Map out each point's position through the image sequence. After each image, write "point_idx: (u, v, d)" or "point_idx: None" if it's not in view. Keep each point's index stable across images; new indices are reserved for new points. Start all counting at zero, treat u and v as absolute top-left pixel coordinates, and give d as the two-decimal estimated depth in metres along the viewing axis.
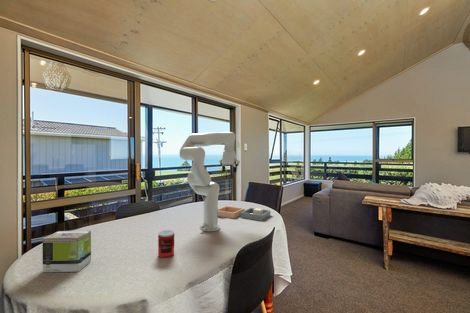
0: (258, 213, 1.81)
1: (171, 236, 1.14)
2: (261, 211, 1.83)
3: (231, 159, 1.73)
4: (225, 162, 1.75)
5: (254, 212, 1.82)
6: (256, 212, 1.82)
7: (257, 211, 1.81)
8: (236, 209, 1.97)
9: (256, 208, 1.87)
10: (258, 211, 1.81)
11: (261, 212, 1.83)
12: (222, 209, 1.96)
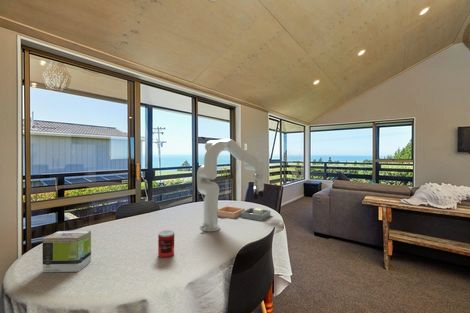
0: (258, 213, 1.81)
1: (171, 236, 1.14)
2: (261, 211, 1.83)
3: (263, 185, 1.86)
4: (261, 189, 1.81)
5: (254, 212, 1.82)
6: (256, 212, 1.82)
7: (257, 211, 1.81)
8: (236, 209, 1.97)
9: (256, 208, 1.87)
10: (258, 211, 1.81)
11: (261, 212, 1.83)
12: (222, 209, 1.96)
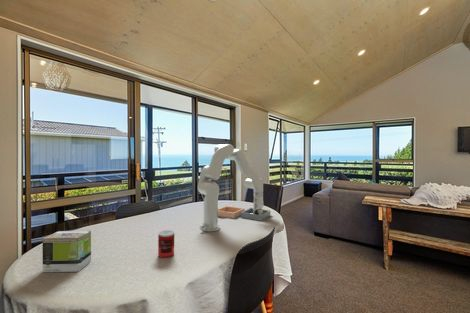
0: (258, 213, 1.81)
1: (171, 236, 1.14)
2: (261, 211, 1.83)
3: (262, 202, 1.86)
4: (260, 207, 1.81)
5: None
6: None
7: None
8: (236, 209, 1.97)
9: None
10: (258, 211, 1.81)
11: (261, 212, 1.83)
12: (222, 209, 1.96)
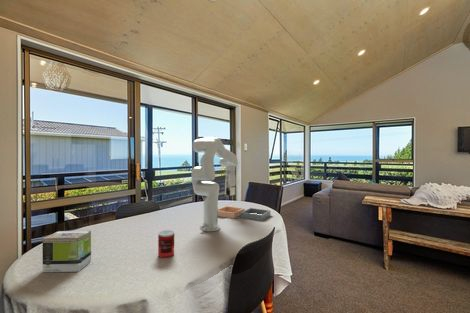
0: (230, 190, 1.87)
1: (171, 236, 1.14)
2: (233, 189, 1.89)
3: (235, 181, 1.92)
4: (232, 184, 1.88)
5: None
6: None
7: (229, 189, 1.88)
8: (236, 209, 1.97)
9: None
10: (230, 189, 1.87)
11: (233, 190, 1.89)
12: (222, 209, 1.96)
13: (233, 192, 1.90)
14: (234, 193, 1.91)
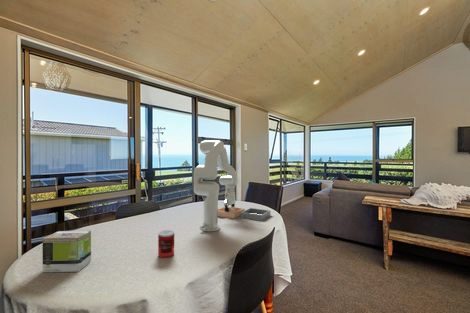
0: (229, 210, 1.87)
1: (171, 236, 1.14)
2: (232, 209, 1.89)
3: (234, 198, 1.93)
4: (231, 202, 1.88)
5: None
6: None
7: None
8: (236, 209, 1.97)
9: (228, 206, 1.94)
10: (229, 209, 1.88)
11: (232, 210, 1.89)
12: (222, 209, 1.96)
13: (233, 212, 1.90)
14: None
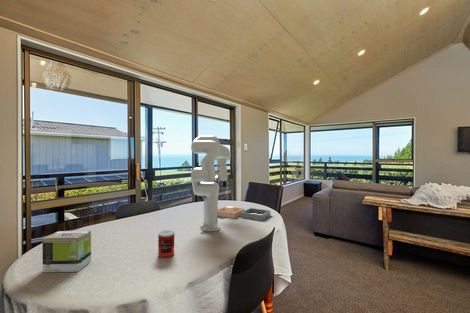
0: (229, 210, 1.87)
1: (171, 236, 1.14)
2: (232, 209, 1.89)
3: (226, 175, 1.91)
4: (223, 178, 1.87)
5: (226, 210, 1.89)
6: (228, 209, 1.88)
7: (228, 209, 1.88)
8: (236, 209, 1.97)
9: (228, 206, 1.94)
10: (229, 209, 1.88)
11: (232, 210, 1.89)
12: (222, 209, 1.96)
13: (233, 212, 1.90)
14: None
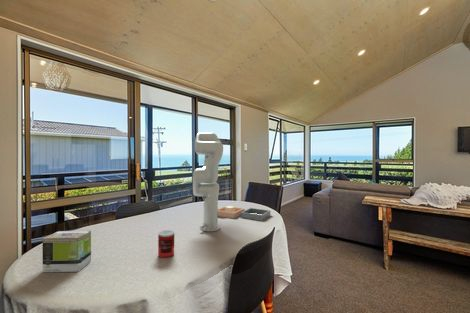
0: (229, 210, 1.87)
1: (171, 236, 1.14)
2: (232, 209, 1.89)
3: None
4: None
5: (226, 210, 1.89)
6: (228, 209, 1.88)
7: (228, 209, 1.88)
8: (236, 209, 1.97)
9: (228, 206, 1.94)
10: (229, 209, 1.88)
11: (232, 210, 1.89)
12: (222, 209, 1.96)
13: (233, 212, 1.90)
14: None
